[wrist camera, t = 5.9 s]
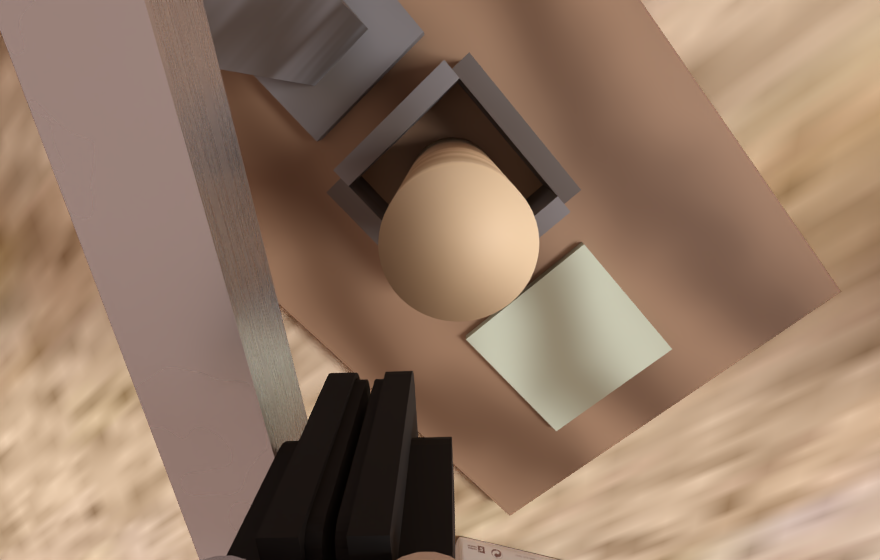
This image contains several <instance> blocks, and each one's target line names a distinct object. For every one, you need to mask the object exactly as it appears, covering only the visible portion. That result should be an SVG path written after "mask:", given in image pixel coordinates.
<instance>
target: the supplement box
mask: <svg viewBox="0 0 880 560" xmlns="http://www.w3.org/2000/svg"><path fill="white" fill-rule="evenodd" d="M455 560H557V559H554V558H550V557H546V556H541V555H538V554H534V553H529V552H525V551H521V550H517V549H513V548H509V547H504V546H500V545H496V544H492V543H487V542H483V541H478V540H474V539H470V538H465V537H459V538H458V539H457V542H456V545H455Z"/></svg>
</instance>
